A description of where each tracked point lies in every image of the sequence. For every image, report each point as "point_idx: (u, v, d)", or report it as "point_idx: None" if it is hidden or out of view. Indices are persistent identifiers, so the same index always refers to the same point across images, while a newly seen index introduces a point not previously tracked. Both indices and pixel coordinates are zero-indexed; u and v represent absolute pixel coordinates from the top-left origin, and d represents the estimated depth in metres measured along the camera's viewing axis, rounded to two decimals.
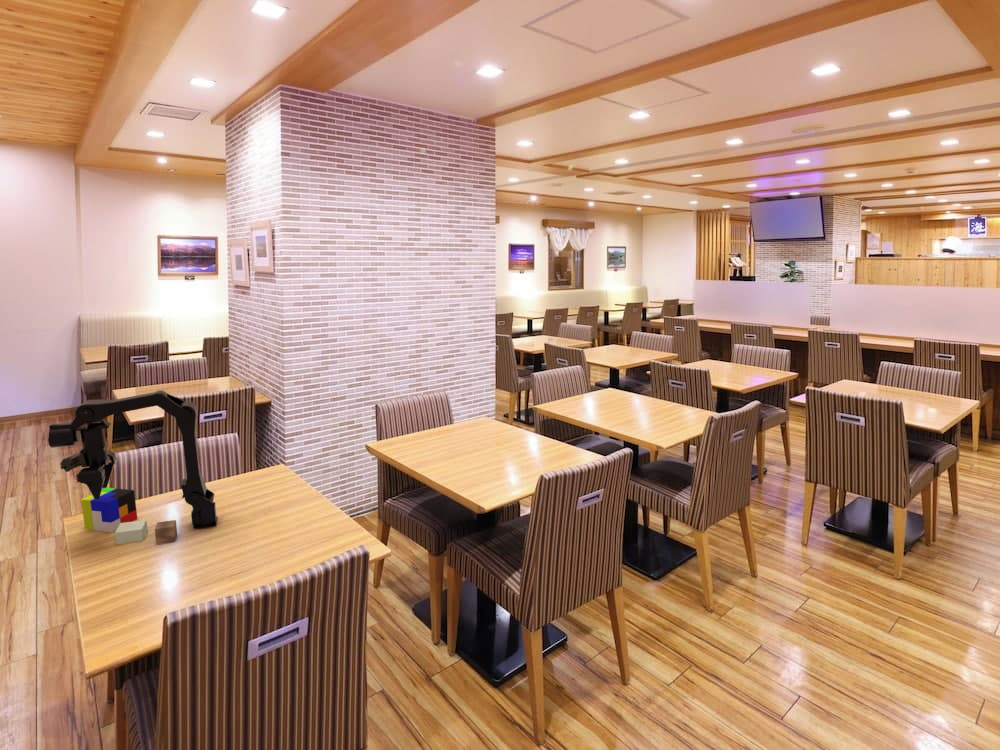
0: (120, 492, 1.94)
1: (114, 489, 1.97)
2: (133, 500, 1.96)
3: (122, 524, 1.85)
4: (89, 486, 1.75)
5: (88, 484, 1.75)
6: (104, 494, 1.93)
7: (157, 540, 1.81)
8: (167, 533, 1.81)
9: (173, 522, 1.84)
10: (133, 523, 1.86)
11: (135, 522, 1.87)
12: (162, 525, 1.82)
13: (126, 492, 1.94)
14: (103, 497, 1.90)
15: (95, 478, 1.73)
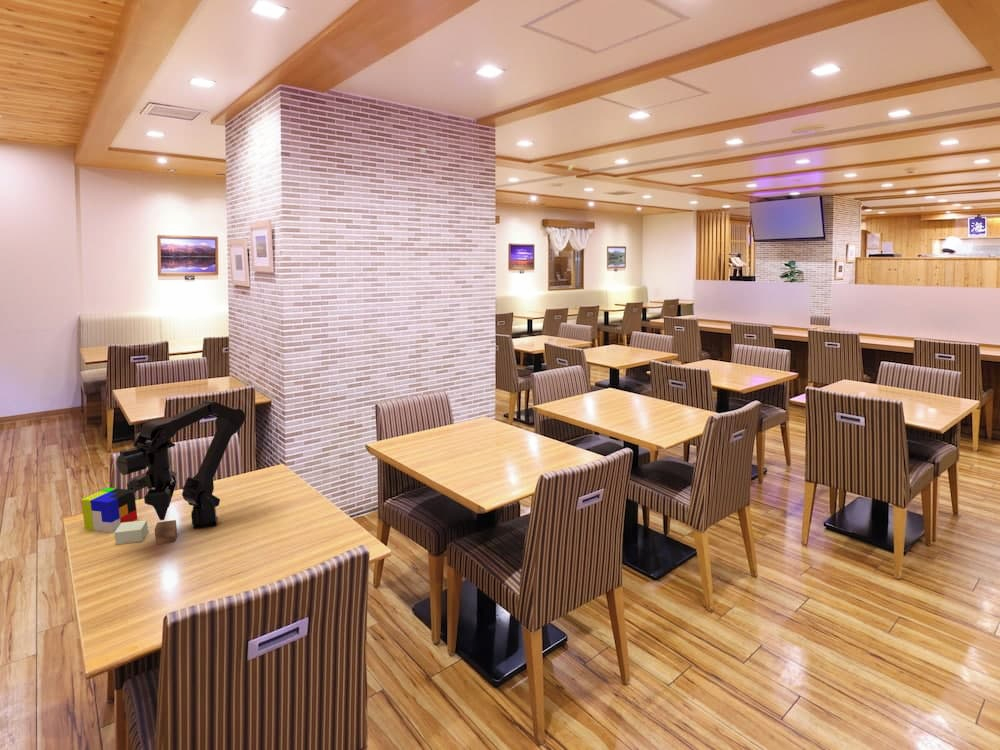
0: (120, 492, 1.94)
1: (114, 489, 1.97)
2: (133, 500, 1.96)
3: (123, 524, 1.86)
4: (155, 507, 1.76)
5: (154, 505, 1.75)
6: (105, 494, 1.93)
7: (157, 540, 1.81)
8: (167, 533, 1.81)
9: (173, 522, 1.84)
10: (133, 523, 1.86)
11: (135, 522, 1.87)
12: (162, 525, 1.82)
13: (126, 492, 1.94)
14: (103, 497, 1.90)
15: (162, 500, 1.73)
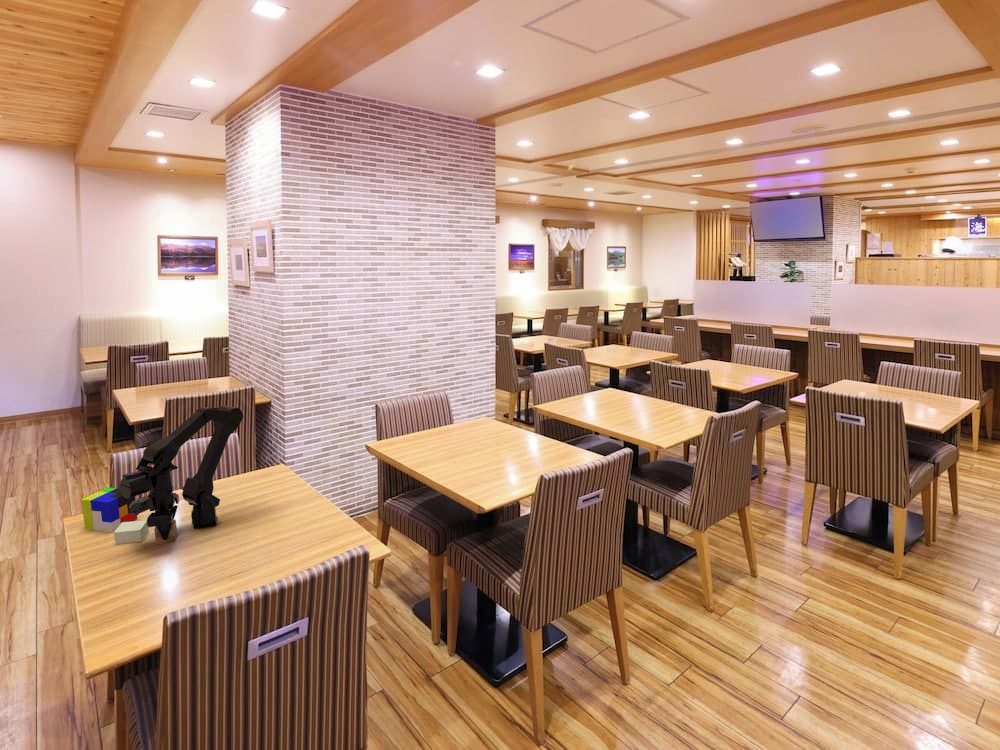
0: (120, 492, 1.94)
1: (114, 489, 1.97)
2: (133, 500, 1.96)
3: (123, 523, 1.86)
4: (159, 527, 1.79)
5: (158, 525, 1.78)
6: (104, 494, 1.93)
7: (157, 540, 1.81)
8: None
9: (173, 522, 1.84)
10: (134, 523, 1.86)
11: (136, 522, 1.87)
12: None
13: None
14: (103, 497, 1.90)
15: (165, 523, 1.74)
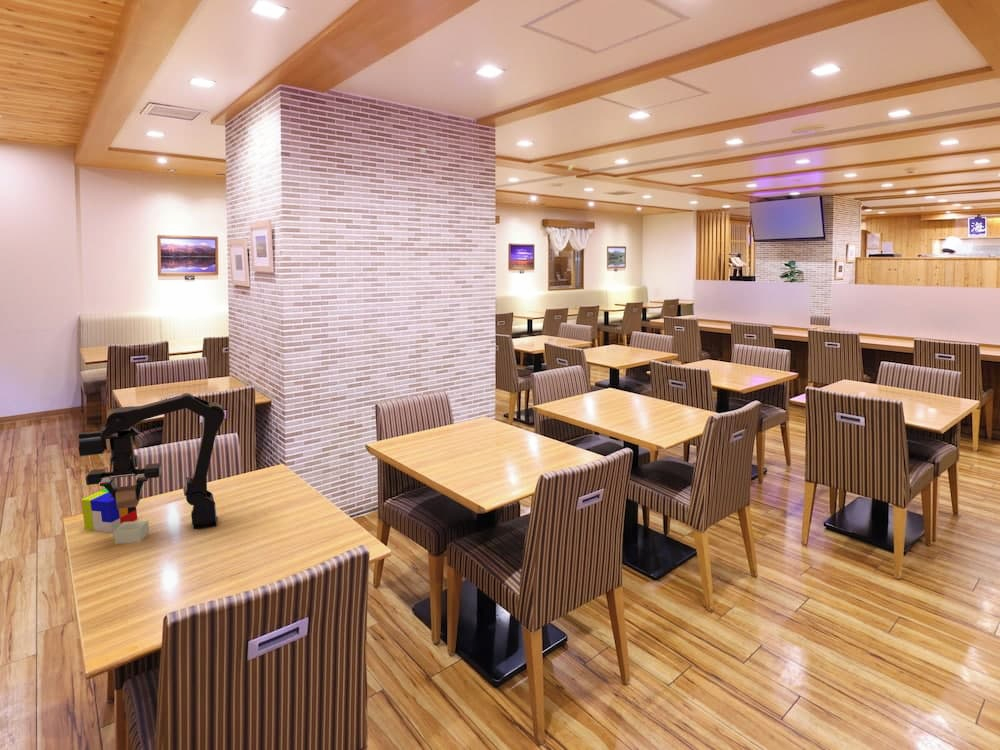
0: None
1: None
2: None
3: (124, 523, 1.86)
4: None
5: None
6: (104, 494, 1.93)
7: None
8: None
9: (128, 491, 1.80)
10: (134, 523, 1.86)
11: (137, 522, 1.87)
12: (124, 488, 1.82)
13: None
14: (103, 497, 1.90)
15: None
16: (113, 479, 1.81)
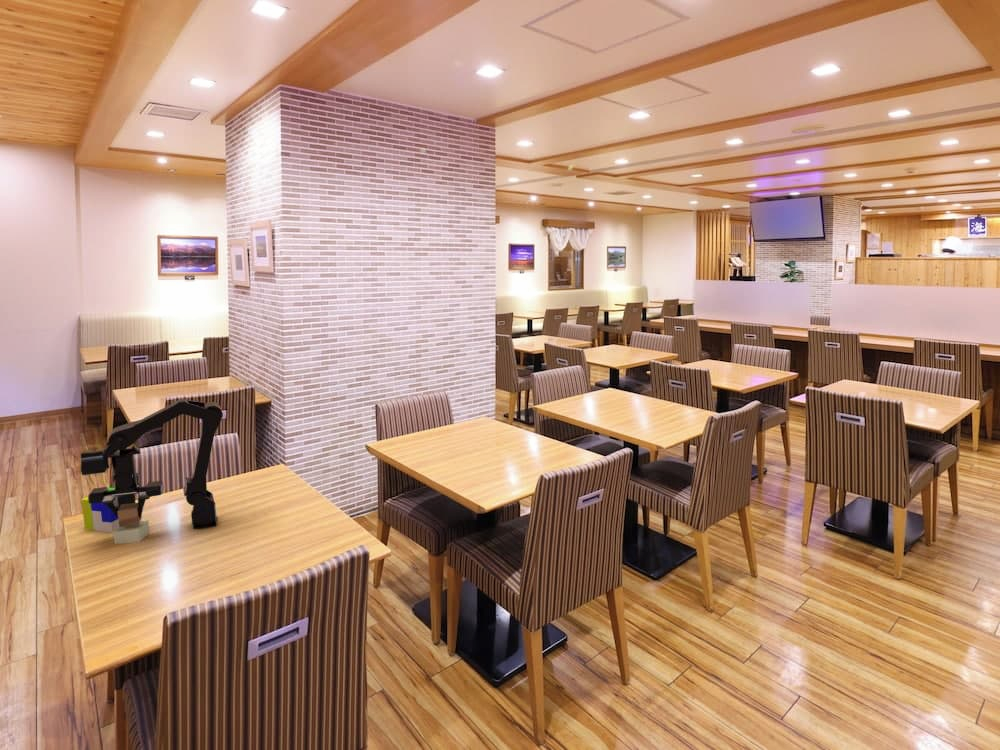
0: None
1: (114, 489, 1.97)
2: (133, 500, 1.96)
3: None
4: None
5: None
6: None
7: None
8: None
9: (130, 509, 1.81)
10: None
11: None
12: (126, 506, 1.83)
13: None
14: None
15: None
16: (115, 497, 1.82)
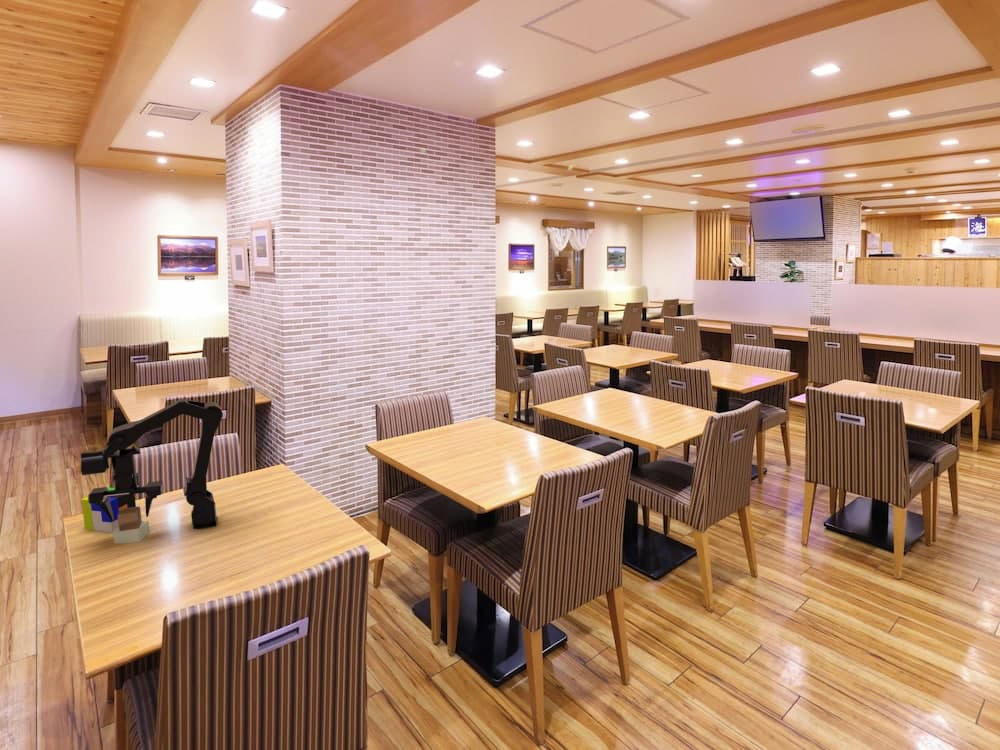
0: None
1: (114, 489, 1.97)
2: (133, 500, 1.96)
3: None
4: None
5: None
6: None
7: None
8: None
9: (130, 513, 1.82)
10: None
11: None
12: (126, 510, 1.84)
13: None
14: None
15: None
16: (108, 498, 1.81)
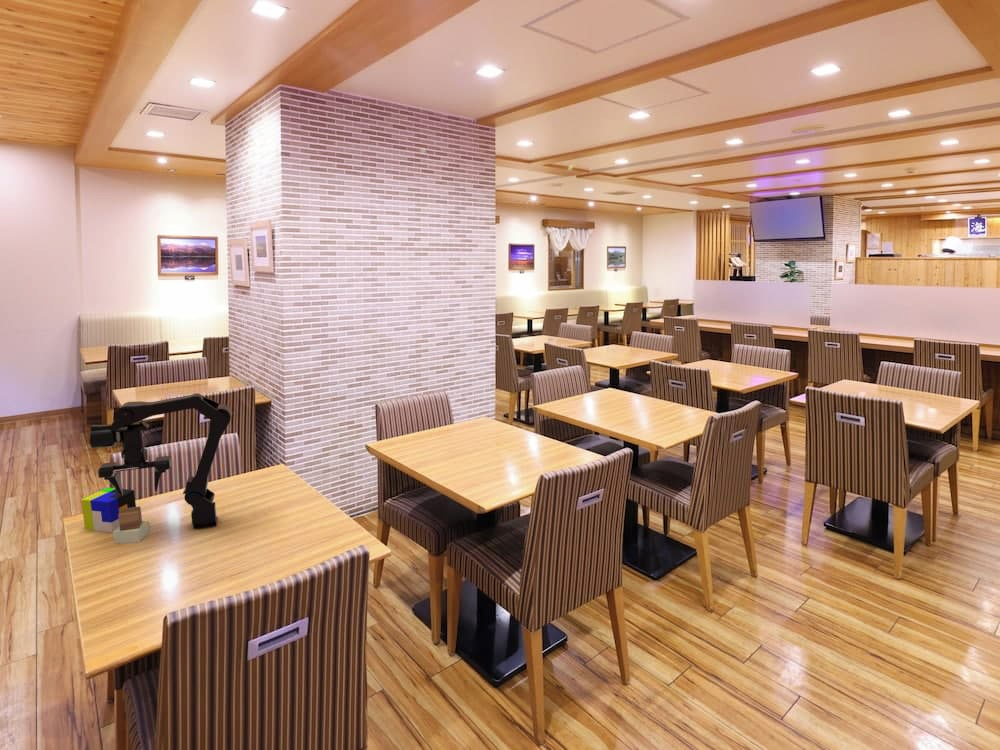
0: None
1: (114, 489, 1.97)
2: (133, 500, 1.96)
3: None
4: None
5: None
6: (104, 494, 1.93)
7: None
8: None
9: (131, 513, 1.82)
10: None
11: None
12: (127, 510, 1.84)
13: (126, 492, 1.94)
14: (103, 497, 1.90)
15: None
16: (117, 473, 1.84)
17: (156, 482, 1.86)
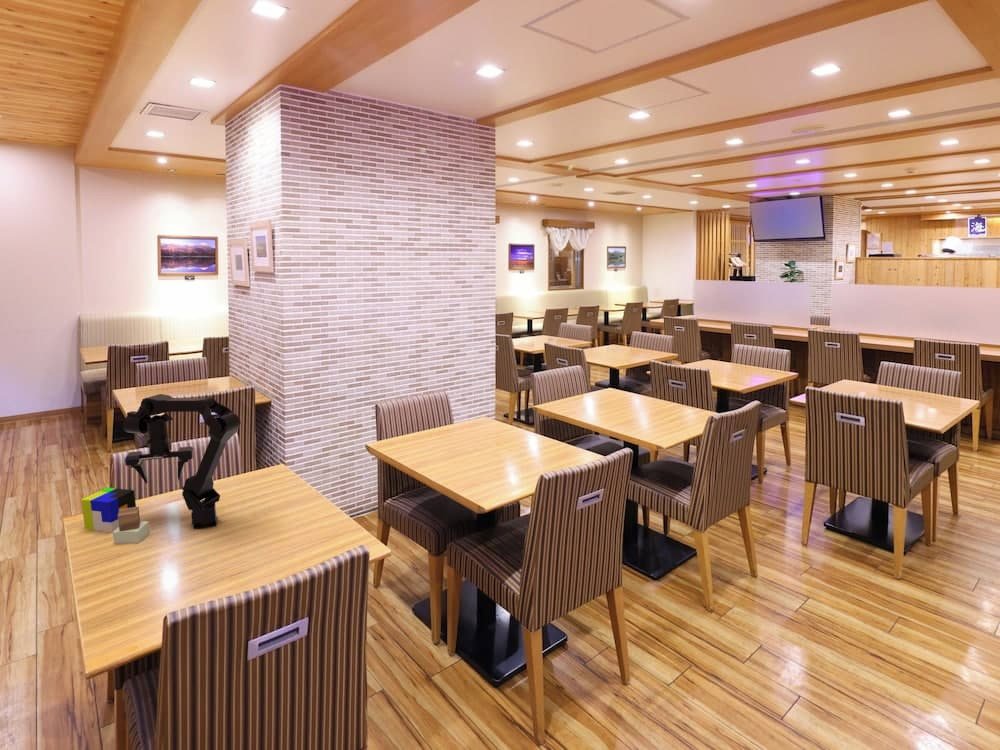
0: (120, 492, 1.94)
1: (114, 489, 1.96)
2: (133, 500, 1.96)
3: None
4: None
5: None
6: (104, 494, 1.93)
7: None
8: None
9: (130, 513, 1.82)
10: None
11: None
12: (125, 510, 1.84)
13: (126, 492, 1.94)
14: (103, 497, 1.90)
15: None
16: (142, 461, 1.93)
17: (179, 471, 1.95)
